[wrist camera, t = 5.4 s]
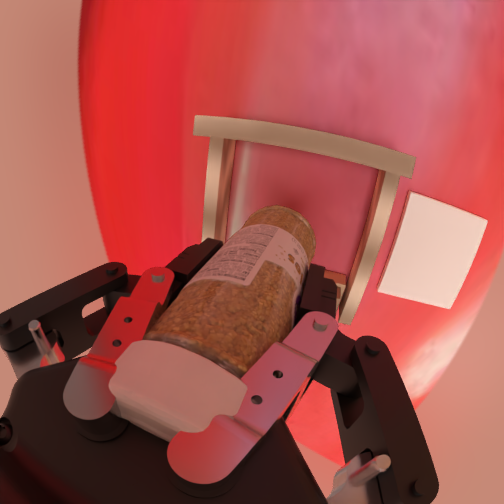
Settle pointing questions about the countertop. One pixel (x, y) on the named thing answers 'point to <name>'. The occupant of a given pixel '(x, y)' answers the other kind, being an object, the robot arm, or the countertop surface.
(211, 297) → the sprinkles bottle
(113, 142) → the countertop surface
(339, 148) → the frame
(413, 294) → the cream mat
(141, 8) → the countertop surface
